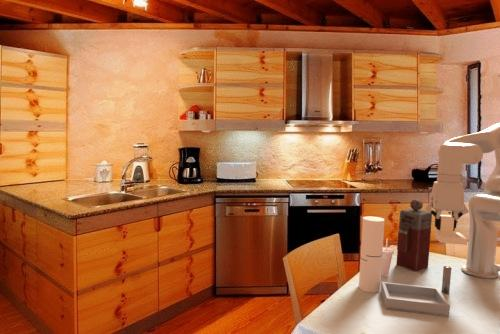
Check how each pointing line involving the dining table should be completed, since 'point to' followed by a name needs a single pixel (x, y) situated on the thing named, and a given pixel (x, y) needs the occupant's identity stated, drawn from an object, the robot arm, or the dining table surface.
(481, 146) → the robot arm
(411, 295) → the tray
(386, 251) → the smoothie
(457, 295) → the dining table surface
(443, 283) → the post
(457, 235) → the beige stepped block
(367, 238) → the cylindrical container
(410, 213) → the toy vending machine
